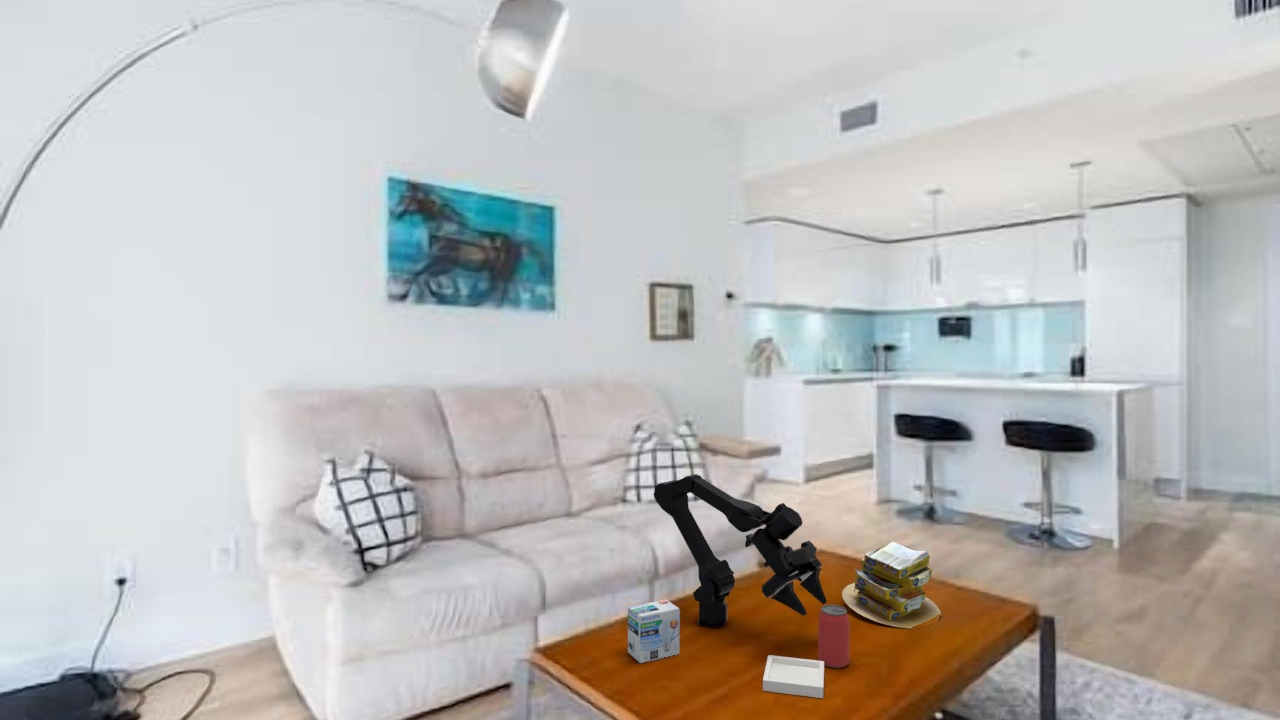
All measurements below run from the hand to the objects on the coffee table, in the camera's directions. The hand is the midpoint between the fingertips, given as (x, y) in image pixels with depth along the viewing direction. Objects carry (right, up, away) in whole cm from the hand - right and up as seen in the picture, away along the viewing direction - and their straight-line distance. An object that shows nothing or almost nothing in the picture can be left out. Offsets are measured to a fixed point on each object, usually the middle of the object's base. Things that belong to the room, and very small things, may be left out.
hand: (815, 608), depth 159 cm
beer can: (+3, -11, -3) cm, 12 cm away
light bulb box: (-37, -11, +2) cm, 39 cm away
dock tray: (-7, -11, -11) cm, 17 cm away
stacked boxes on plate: (+27, -10, +28) cm, 40 cm away
